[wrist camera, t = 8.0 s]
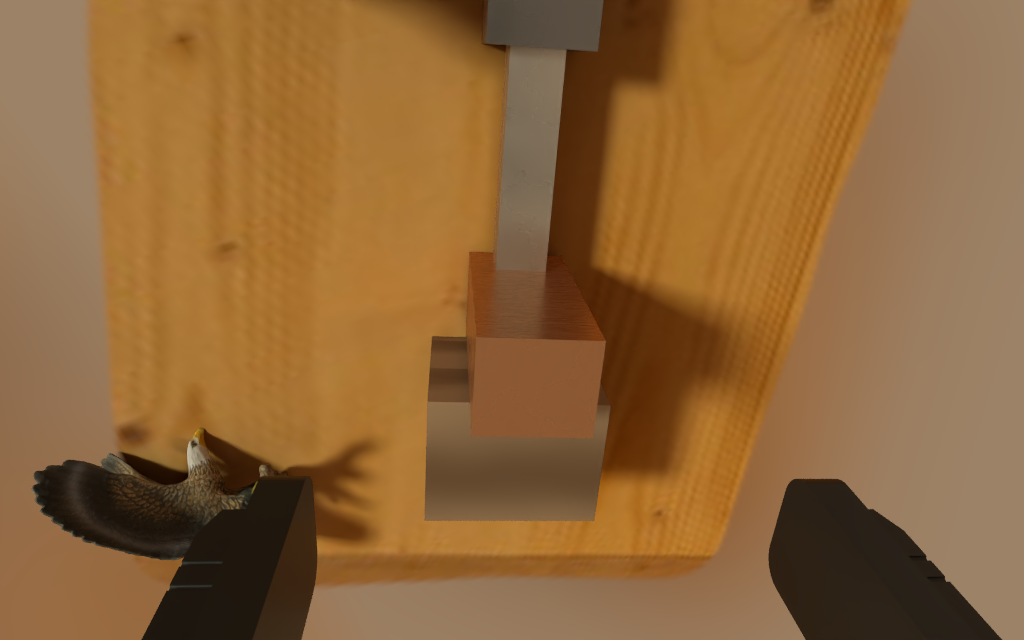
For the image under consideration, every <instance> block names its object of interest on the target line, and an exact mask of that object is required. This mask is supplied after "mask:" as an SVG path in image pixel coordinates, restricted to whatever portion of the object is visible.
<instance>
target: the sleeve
mask: <svg viewBox="0 0 1024 640" xmlns="http://www.w3.org/2000/svg"><path fill="white" fill-rule="evenodd" d="M603 1H604V0H484V3H483V23H482V44H492V45H505V46H506V45H516V46H529V47H542V48H555V49H567V50H570V51H593V52H598V46H599V37H600V28H601V19H602V10H603Z"/></svg>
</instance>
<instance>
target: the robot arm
mask: <svg viewBox="0 0 1024 640" xmlns="http://www.w3.org/2000/svg"><path fill="white" fill-rule="evenodd" d="M769 568H770V573H771V577H772V580H773V583H774V585H775V587H776V589H777V591H778V592H779V594H780V596H781V598H782V599H783V601H784V603H785V604H786V606H787V608H788V610H789V611H790V613H791V615H792V617H793V618H794V620H795V622H796V624H797V625H798V627H799V629H800V631H801V632H802V634H803V636H804V637H805V639H806V640H1002V639H1001V638H1000V637H999V636H998V635H997V634H996V633H995V632H994V630H993V629H992V628H991V627H990V626H989V625H988V624H987V623H986V622H985V621H984V619H983V618H982V617H981V616H980V615H979V614H978V613H977V611H976V610H975V609H974V608H973V607H972V606H971V605H970V604H969V603H968V601H967V600H966V599H965V598H964V597H963V596H962V595H961V594H960V593H959V591H958V590H957V589H956V588H955V587H954V586H953V585H952V584H951V583H950V582H946V581H945V576H944V575H943V574H942V573H941V571H940V570H939V569H938V568H937V567H936V566H935V565H934V564H933V563H932V562H931V561H927V559H926V555H925V554H924V553H923V551H922V550H921V549H920V548H919V547H918V546H917V545H916V544H915V543H914V541H913V540H912V539H911V538H910V537H909V536H908V535H907V534H906V533H905V531H904V530H902V529H901V528H899V527H898V526H896V525H895V524H893V523H892V522H890V521H889V520H888V519H886V518H885V517H883V516H882V515H880V514H879V513H878V512H876V511H875V510H873V509H870V510H869V509H867V508H866V506H865V505H864V504H863V503H862V502H861V501H860V499H859V498H858V497H857V496H856V495H855V494H854V493H853V492H852V490H851V489H850V488H849V487H848V486H847V485H846V484H845V483H844V482H843V481H841V480H839V479H794V480H792V481H791V482H790V483H789V484H788V486H787V488H786V492H785V495H784V498H783V502H782V505H781V509H780V512H779V516H778V519H777V523H776V527H775V530H774V534H773V537H772V541H771V544H770V548H769ZM316 570H317V540H316V526H315V512H314V498H313V485H312V480H311V478H310V476H262V477H260V479H259V480H258V482H257V484H256V487H255V489H254V491H253V493H252V496H251V498H250V500H249V503H248V505H247V507H246V509H223V510H221V511H220V512H219V513H218V514H217V515H216V516H215V517H214V518H213V519H211V520H210V521H209V522H208V523H207V524H206V525H205V526H204V527H203V528H201V529H200V530H199V531H198V532H197V533H196V535H195V537H194V539H193V541H192V543H191V545H190V547H189V548H188V550H187V552H186V554H185V556H184V558H183V560H182V566H181V567H179V568H178V570H177V572H176V574H175V576H174V578H173V580H172V582H171V584H170V589H169V591H166V593H165V595H164V597H163V599H162V601H161V603H160V605H159V607H158V609H157V611H156V613H155V615H154V617H153V619H152V620H151V623H150V625H149V626H148V628H147V630H146V632H145V634H144V636H143V638H142V640H301V639H302V634H303V631H304V627H305V623H306V619H307V615H308V611H309V607H310V603H311V599H312V595H313V591H314V586H315V579H316Z"/></svg>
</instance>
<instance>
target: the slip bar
mask: <svg viewBox="0 0 1024 640" xmlns="http://www.w3.org/2000/svg"><path fill="white" fill-rule="evenodd" d="M566 51H567V49H555V48H542V47H529V46H516V45H506V55H505V71H504V88H503V104H502V120H501V136H500V152H499V169H498V185H497V201H496V217H495V233H494V250H493V253H484V252H469V274H468V295H467V316H466V338H467V360H468V381H469V402H470V423H471V436H477V437H545V438H593V433H594V426H595V419H596V411H597V404H598V397H599V389H600V382H601V375H602V368H603V360H604V353H605V346H606V340H605V338H604V336H603V334H602V332H601V331H600V329H599V327H598V325H597V323H596V321H595V319H594V317H593V315H592V313H591V311H590V309H589V308H588V306H587V304H586V302H585V300H584V298H583V296H582V294H581V292H580V290H579V288H578V286H577V285H576V283H575V281H574V279H573V277H572V275H571V273H570V271H569V269H568V267H567V265H566V264H565V262H564V260H563V258H562V256H552V255H547V253H548V242H549V231H550V221H551V210H552V199H553V189H554V178H555V168H556V157H557V146H558V136H559V125H560V115H561V104H562V93H563V83H564V72H565V61H566Z"/></svg>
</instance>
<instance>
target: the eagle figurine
mask: <svg viewBox="0 0 1024 640" xmlns="http://www.w3.org/2000/svg"><path fill="white" fill-rule="evenodd" d="M204 431H205V430H204V428H199V429H198V430H197V431H196V432H195V434H194V436H193V438H192V440H191V441H190V442H189V444H188V449H187V461H188V469H189V471H188V478H187V479H186V480H185V481H183V482H181V483H176V484H170V485H163V484H160V483H158V482H156V481H154V480H151V479H149V478H148V477H146V476H143V475H141V474H140V473H139V472H138V471H136V470H135V469H133V468H132V467H131V466H130V465H128V464H126V463H125V462H124V461H123V460H121V459H120V458H119V457H117V456H115V455H113V454H111V453H110V454H108V455H107V458H108V459H102V460H101V463H102V466H101V467H100V466H96V465H94V464H91V463H87V462H83V461H76V460H67V461H65V462H63V465H62V466H60V465H57V466H56V465H51V466H47V467H46V469H45V470H44V471H36V472H35V473H34V479H35V481H36V482H37V483H38V484H36V485H34V486H33V487H32V491H33V492H34V494H35V495H36V498H35V502H36V503H37V504H39V505H41V506H42V509H41V510H40V511H41V513H43V514H44V515H46V516H48V517H51V518H52V519H51V521H52V522H53V523H55V524H58V525H60V526H61V528H62V530H64V531H67V532H70V533H71V534H72V536H74V537H81V538H82V541H84V542H87V543H93V544H95V545H97V546H102V547H107V548H111V549H114V550H118V551H123V552H125V553H128V554H133V555H137V556H146V557H150V558H155V559H160V560H177V559H180V558H183V557H184V556H185V554H186V552H187V550H188V548H189V547H190V545H191V543H192V541H193V539H194V537H195V535H196V533H197V532H198V531H199V530H200V529H201V528H203V527H204V526H205V525H206V524H207V523H208V522H209V521H210V520H211V519H213V518H214V517H215V516H216V515H217V514H218V513H219V512H220V511H221V510H223V509H246V507H247V505H248V503H249V500H250V498H251V496H252V493H253V491H254V489H255V487H256V484H257V482H258V481H256V482H254V483H253V484H251V485H249V486H247V487H241V488H239V489H236V490H229V489H227V488H226V487H225V485H224V482H223V480H222V476H221V474H220V472H219V470H218V469H217V467H216V466H215V464H214V463H213V461H212V459H211V457H210V455H209V453H208V450H207V447H206V444H205V441H204ZM259 473H260V477H262V476H288V474H287V473H278V472H276V471H273V470H272V467H271V465H270V464H269V463H267V464H265V465H261V466H260V467H259Z"/></svg>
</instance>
